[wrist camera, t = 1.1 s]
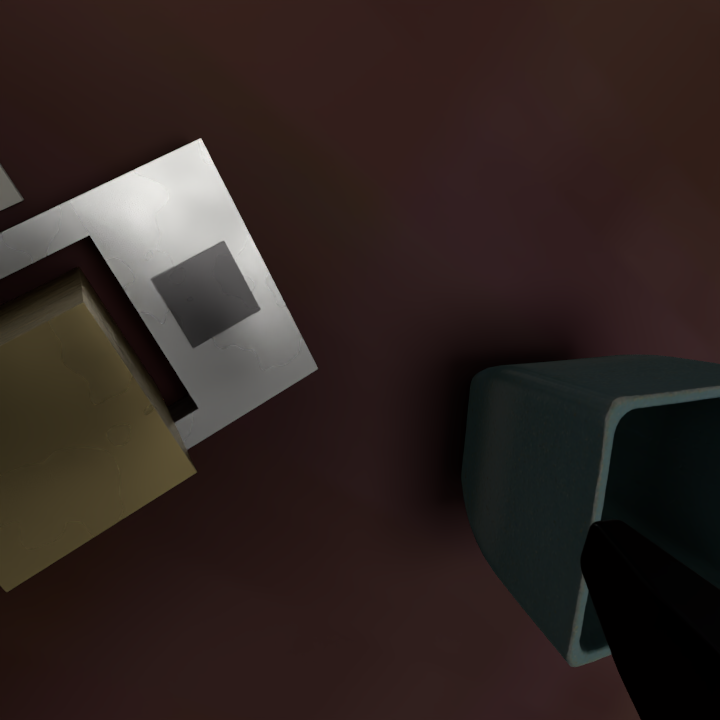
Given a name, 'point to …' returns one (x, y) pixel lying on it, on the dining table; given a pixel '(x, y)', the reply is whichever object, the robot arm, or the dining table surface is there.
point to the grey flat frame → (183, 282)
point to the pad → (8, 191)
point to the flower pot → (590, 476)
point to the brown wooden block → (74, 427)
